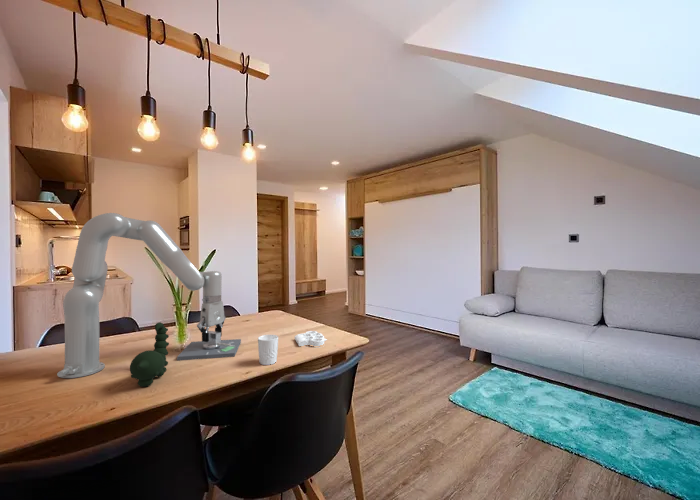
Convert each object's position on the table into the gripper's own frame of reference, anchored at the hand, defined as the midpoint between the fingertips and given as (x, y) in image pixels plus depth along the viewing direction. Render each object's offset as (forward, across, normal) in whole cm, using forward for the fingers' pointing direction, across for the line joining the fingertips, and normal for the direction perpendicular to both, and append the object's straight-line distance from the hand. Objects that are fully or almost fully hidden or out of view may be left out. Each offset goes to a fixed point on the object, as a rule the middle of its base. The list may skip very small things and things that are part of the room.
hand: (211, 338), depth 134 cm
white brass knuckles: (+6, +26, -37) cm, 45 cm away
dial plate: (+5, 0, 0) cm, 5 cm away
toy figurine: (+6, -30, -1) cm, 30 cm away
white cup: (+5, -4, -31) cm, 32 cm away
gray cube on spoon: (+4, 0, -3) cm, 5 cm away
